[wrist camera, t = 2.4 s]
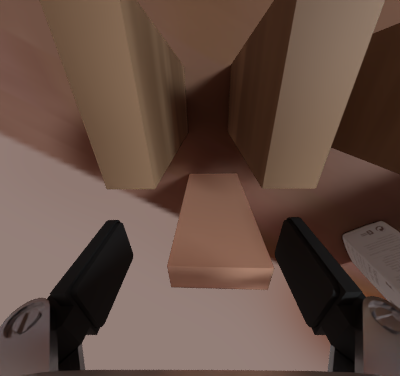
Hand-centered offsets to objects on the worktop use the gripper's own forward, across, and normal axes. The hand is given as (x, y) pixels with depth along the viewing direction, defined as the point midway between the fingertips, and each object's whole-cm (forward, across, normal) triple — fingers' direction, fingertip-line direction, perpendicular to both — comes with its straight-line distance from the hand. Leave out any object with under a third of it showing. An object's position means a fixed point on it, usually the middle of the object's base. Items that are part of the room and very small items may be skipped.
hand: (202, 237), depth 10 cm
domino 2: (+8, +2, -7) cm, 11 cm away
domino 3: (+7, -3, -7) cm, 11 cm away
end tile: (+7, -1, 0) cm, 8 cm away
